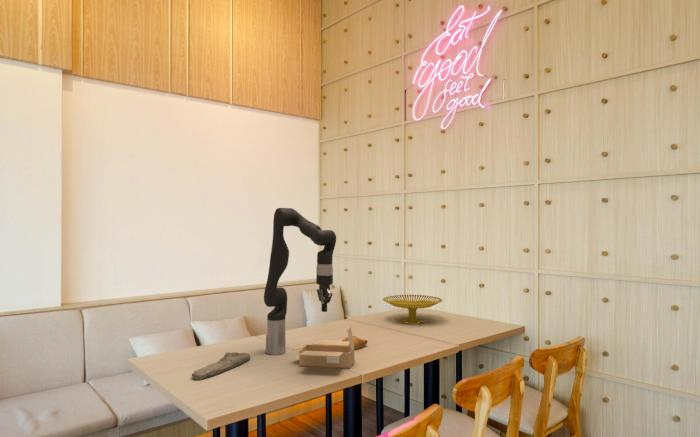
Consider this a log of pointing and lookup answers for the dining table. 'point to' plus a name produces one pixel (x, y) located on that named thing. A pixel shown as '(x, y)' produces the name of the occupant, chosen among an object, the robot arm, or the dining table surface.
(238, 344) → the dining table surface
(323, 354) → the flap near
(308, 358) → the carton
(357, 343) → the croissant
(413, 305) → the yellow pedestal fruit bowl
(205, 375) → the long grey stone
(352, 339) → the flap far
